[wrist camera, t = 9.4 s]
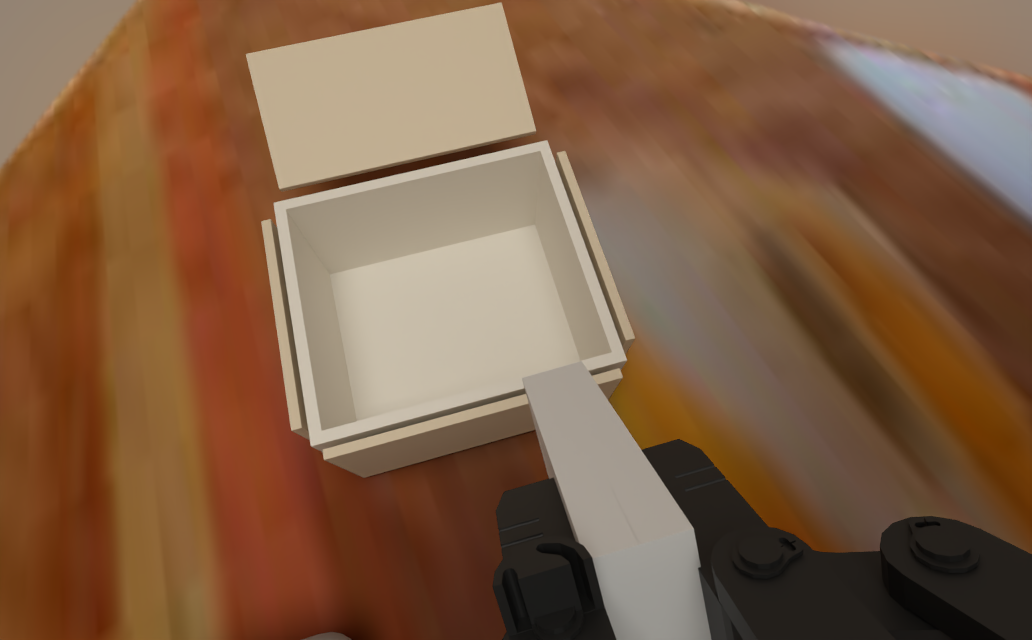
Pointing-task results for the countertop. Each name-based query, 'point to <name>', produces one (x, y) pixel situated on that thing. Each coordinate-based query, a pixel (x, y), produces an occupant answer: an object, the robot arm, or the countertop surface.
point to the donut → (328, 636)
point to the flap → (390, 95)
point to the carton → (438, 305)
